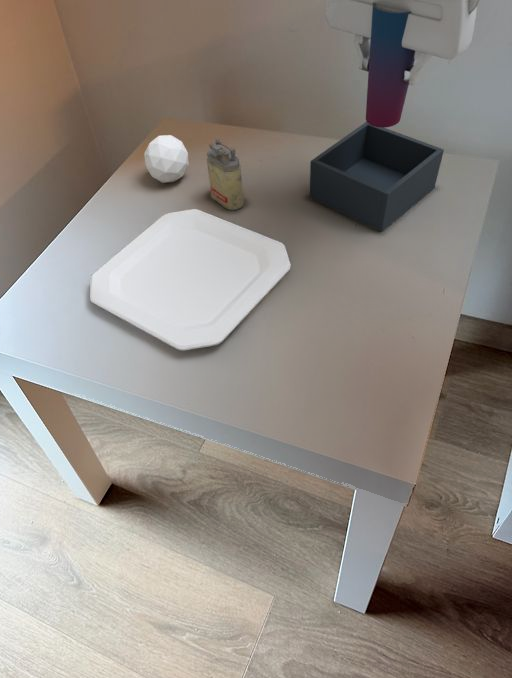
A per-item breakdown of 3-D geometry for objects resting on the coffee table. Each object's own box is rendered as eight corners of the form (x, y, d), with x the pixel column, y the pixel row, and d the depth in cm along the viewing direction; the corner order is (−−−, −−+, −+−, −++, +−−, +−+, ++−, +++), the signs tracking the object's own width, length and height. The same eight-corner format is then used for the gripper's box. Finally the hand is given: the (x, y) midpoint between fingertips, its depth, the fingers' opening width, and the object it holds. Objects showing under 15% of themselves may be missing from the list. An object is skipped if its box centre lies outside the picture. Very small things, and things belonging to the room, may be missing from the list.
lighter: (207, 195, 94) (199, 140, 86) (224, 186, 95) (218, 131, 87) (232, 213, 90) (226, 158, 82) (249, 203, 91) (245, 148, 83)
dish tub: (434, 187, 89) (444, 149, 84) (381, 232, 84) (388, 194, 78) (362, 158, 96) (366, 121, 90) (309, 197, 91) (310, 160, 85)
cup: (411, 110, 80) (434, -8, 68) (400, 133, 77) (421, 14, 65) (366, 104, 83) (380, -11, 70) (353, 127, 79) (366, 10, 67)
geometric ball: (162, 195, 100) (128, 166, 95) (181, 159, 101) (148, 129, 96) (185, 189, 94) (150, 158, 89) (204, 151, 95) (171, 119, 90)
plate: (76, 300, 81) (71, 289, 79) (180, 211, 92) (178, 200, 90) (203, 370, 71) (201, 360, 69) (304, 262, 81) (305, 250, 80)
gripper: (502, -42, 60) (468, 86, 71) (352, -67, 70) (343, 49, 81) (471, -23, 58) (442, 106, 69) (321, -52, 67) (316, 66, 78)
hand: (387, 75), depth 75 cm, fingers closed on cup, 6 cm apart
